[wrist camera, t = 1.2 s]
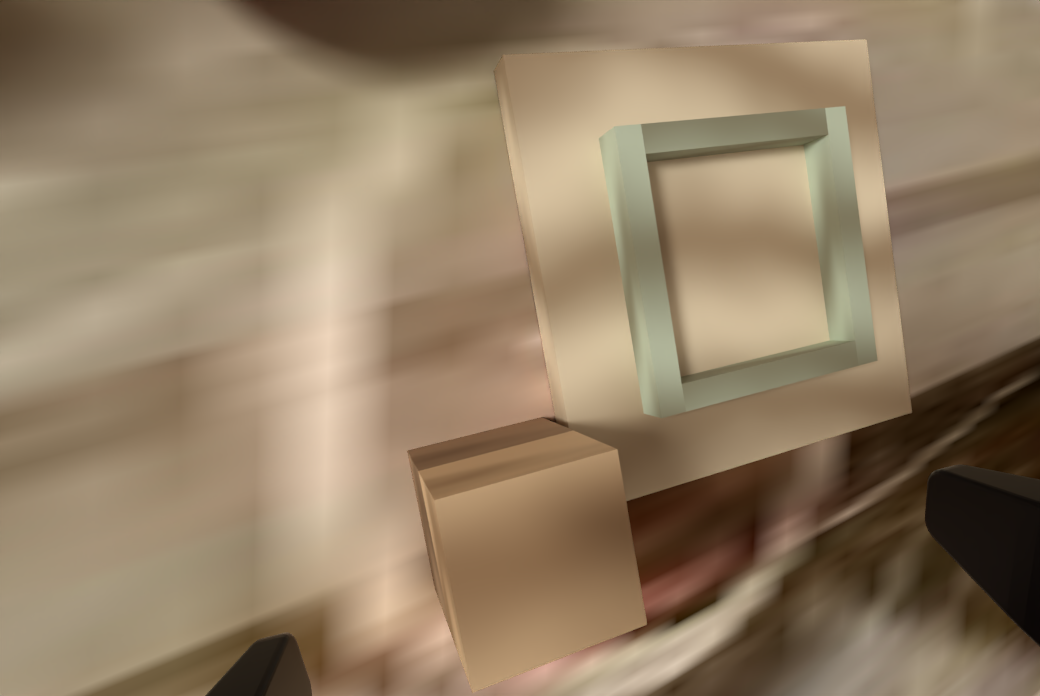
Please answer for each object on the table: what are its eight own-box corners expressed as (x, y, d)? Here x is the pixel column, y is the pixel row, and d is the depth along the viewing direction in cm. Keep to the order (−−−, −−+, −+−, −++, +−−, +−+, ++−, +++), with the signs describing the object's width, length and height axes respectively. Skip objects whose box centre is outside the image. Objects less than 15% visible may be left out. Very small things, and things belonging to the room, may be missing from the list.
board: (886, 408, 26) (940, 416, 23) (570, 504, 21) (598, 525, 19) (841, 53, 24) (893, 24, 22) (493, 70, 20) (513, 36, 17)
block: (564, 545, 21) (646, 624, 15) (434, 587, 20) (472, 692, 14) (541, 416, 21) (617, 449, 15) (407, 450, 19) (434, 500, 13)
